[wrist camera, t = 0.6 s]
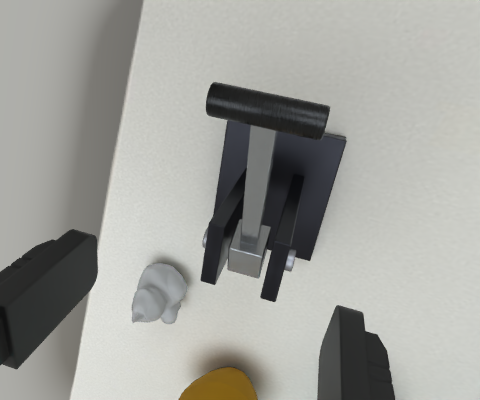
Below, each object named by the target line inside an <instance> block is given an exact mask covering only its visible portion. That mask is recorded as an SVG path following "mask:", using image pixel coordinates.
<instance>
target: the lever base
mask: <svg viewBox="0 0 480 400" xmlns="http://www.w3.org/2000/svg"><path fill="white" fill-rule="evenodd" d="M250 129H251V125H247V124H243V123H238V122H234V121H229V120H228V121H227V127H226V134H225V141H224V147H223V154H222V161H221V167H220V174H219V181H218V187H217V194H216V201H215V208H214V214H213V218H212V219H211V221H210V222H209V226H208V228H207V230H206V232H205V234H204V238H203V247H204V248H205V253H204V260H203V267H202V274H201V281H203V282H206V283H210V284H213V285H215V284H216V282H217V280H218V278H219V275H220V273H221V271H222V269H223V267H224V265H225V263H226V261H227V259H228V248H229V245H230V242H231V239H232V237H233V234H234V231H235V228H236V226H237V223H238V220H239V219H242V215H243V204H244V194H245V183H246V172H247V161H248V150H249V140H250ZM345 144H346V137H342V136H338V135H333V134H329V133H324V134H323V138H322V140H320V141H319V140H314V139H310V138H305V137H301V136H297V135H292V134H288V133H283V132H279V131H278V134H277V140H276V146H275V152H274V158H273V164H272V170H271V176H270V182H269V188H268V194H267V200H266V206H265V211H264V217H263V223H262V225H265V226H269V227H271V233H270V238H269V242H268V247H267V249H268V250H271V255H270V259H269V263H268V268H267V272H266V276H265V280H264V284H263V288H262V292H261V296H260V297H261V298H262V299H266V300H269V301H272V302H275V301H276V298H277V295H278V291H279V287H280V284H281V280H282V276H283V272H284V270H287V271H292V268H293V264H294V260H295V257H297V258H301V259H305V260H308V261H310V259H311V256H312V253H313V250H314V246H315V243H316V240H317V236H318V233H319V230H320V227H321V223H322V220H323V217H324V213H325V210H326V207H327V204H328V200H329V197H330V194H331V190H332V187H333V184H334V181H335V177H336V174H337V171H338V167H339V164H340V161H341V158H342V154H343V151H344V148H345Z"/></svg>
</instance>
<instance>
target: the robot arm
mask: <svg viewBox="0 0 480 400" xmlns="http://www.w3.org/2000/svg"><path fill="white" fill-rule="evenodd" d="M97 273H98V263H97V239H96V236H94V235H92V234H88V233H85V232H81V231H78V230H74V229H72V230H69V231H68V232H67V233H65V234H64V235H63V236H61V237H60V238H59V239H58V240H50V241H47V242H45V243H42V244H40V245H37V246H35V247H34V248H32V249H31V250H30V251H28V252H27V253H25V254H24V255H23V256H22V258H19V259H17V260H16V261H15V262H13V263H12V264H11V266H8V267H6V268H5V269H4V270H2V271H1V272H0V365H1V364H3V365H6V366H8V367H11V368H14V369H18V368H19V366H20V365H21V364H22V363H23V362H24V361H25V360H26V359H27V358H28V357H29V356H30V355H31V354H32V352H33V351H34V350H35V349H36V348H37V347H38V346H39V345H40V344H41V343H42V342H43V341H44V339H45V338H46V337H47V336H48V335H49V334H50V333H51V332H52V331H53V330H54V329H55V328H56V327H57V325H58V324H59V323H60V322H61V321H62V320H63V319H64V318H65V317H66V316H67V315H68V314H69V313H70V311H71V310H72V309H73V308H74V307H75V306H76V305H77V304H78V303H79V302H80V301H81V300H82V299H83V297H84V296H85V295H86V294H87V293H88V292H89V291H90V290H91V288H92V287H93V285H94V283H95V281H96V278H97ZM389 368H390V366H389V360H388V354H387V350H386V349H385V347H384V345H383V343H382V342H381V340H380V338H379V337H378V335H376V334H373V333H370V332H366V331H365V325H364V316H363V313H362V312H360V311H357V310H353V309H350V308H346V307H343V306H339V305H337V306H336V308H335V310H334V313H333V315H332V318H331V321H330V323H329V326H328V328H327V331H326V334H325V336H324V339H323V342H322V346H321V350H320V356H319V373H318V398H317V400H395V396H394V390H393V385H392V378H391V372H390V370H389Z"/></svg>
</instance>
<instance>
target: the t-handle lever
mask: <svg viewBox="0 0 480 400" xmlns="http://www.w3.org/2000/svg"><path fill="white" fill-rule="evenodd" d="M206 112H207V115H208V116H212V117H216V118H220V119H225V120H229V121H234V122H238V123H243V124H247V125H251V129H250V140H249V150H248V161H247V172H246V183H245V194H244V204H243V215H242V219H239V220H238V223H237V226H236V228H235V231H234V234H233V237H232V239H231V242H230V245H229V248H228V270H230V271H233V272H237V273H240V274H244V275H247V276H251V277H255V278H259V277H260V273H261V270H262V266H263V262H264V259H265V255H266V252H267V247H268V242H269V238H270V233H271V227H269V226H265V225H262V223H263V217H264V211H265V206H266V200H267V194H268V188H269V182H270V176H271V170H272V164H273V158H274V152H275V146H276V140H277V134H278V131H279V132H283V133H288V134H292V135H297V136H301V137H305V138H310V139H314V140H319V141H320V140H322V138H323V134H324V131H325V127H326V124H327V120H328V116H329V112H330V106H327V105H322V104H318V103H313V102H308V101H303V100H299V99H294V98H289V97H284V96H279V95H275V94H270V93H265V92H260V91H256V90H251V89H246V88H241V87H237V86H232V85H227V84H222V83H217V82H213V83H212V84H211V86H210V88H209V91H208V95H207V100H206Z"/></svg>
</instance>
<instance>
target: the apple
mask: <svg viewBox="0 0 480 400" xmlns="http://www.w3.org/2000/svg"><path fill="white" fill-rule="evenodd" d="M179 400H258V399H257V394H256V392H255V390H254V388H253V386H252V383H251V381H250V379H249V378H248V377H247V375H246V374H245V373H244V372H242V371H240V370H238V369H236V368H232V367H224V368H219V369H216V370H213V371H210V372H209V373H207V374H205V375H204V376H202V377H200V378H199V379H197V380H195V381H194V382H193V383H192V384H191V385H190V386H189V387H187V388H186V389H185V390H184V392H183V393H182V394H181V396H180V398H179Z"/></svg>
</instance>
